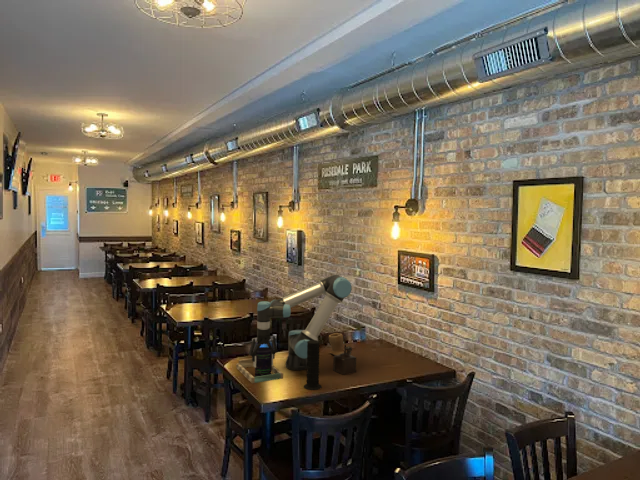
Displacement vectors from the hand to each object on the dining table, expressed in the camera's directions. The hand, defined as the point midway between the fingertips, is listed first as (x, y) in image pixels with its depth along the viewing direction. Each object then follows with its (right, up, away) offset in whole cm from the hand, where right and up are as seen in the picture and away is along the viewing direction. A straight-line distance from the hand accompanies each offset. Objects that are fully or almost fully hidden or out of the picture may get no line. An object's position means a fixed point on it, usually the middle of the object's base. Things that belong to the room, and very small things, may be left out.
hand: (263, 365), depth 278 cm
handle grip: (+29, -8, -15) cm, 34 cm away
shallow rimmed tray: (-3, -6, +6) cm, 10 cm away
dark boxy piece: (+50, -7, +10) cm, 51 cm away
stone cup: (+46, -5, +45) cm, 64 cm away
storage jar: (0, -5, 0) cm, 5 cm away
